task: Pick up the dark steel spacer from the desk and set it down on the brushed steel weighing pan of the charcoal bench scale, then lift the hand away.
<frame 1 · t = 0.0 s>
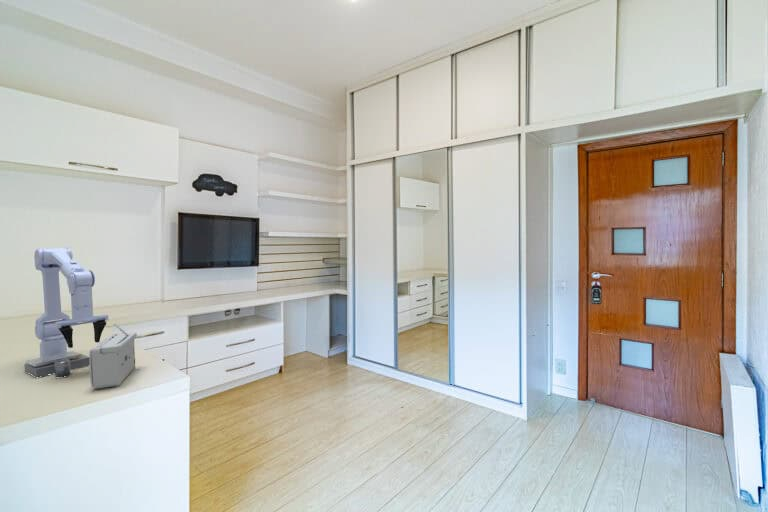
hand: (84, 344, 129), 10 cm above the table, tool pointing down, fingers open, 7 cm apart
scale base: (58, 368, 135), on the table
pipe clamp: (114, 366, 138), on the table
stereo radio cassette player: (116, 378, 125), on the table
weighing pan: (54, 358, 134), point 4 cm above the table, slide at 0.3 cm
steel spacer: (63, 375, 128), on the table
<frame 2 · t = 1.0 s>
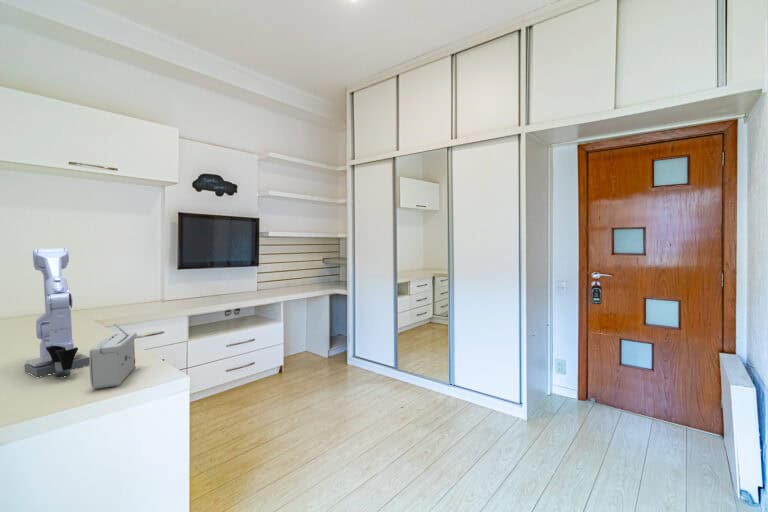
hand: (62, 367, 127), 3 cm above the table, tool pointing down, fingers open, 7 cm apart
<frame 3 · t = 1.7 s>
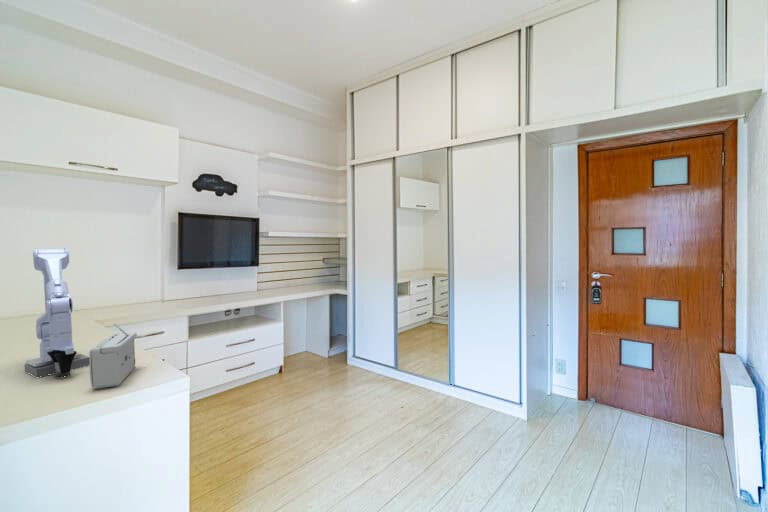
hand: (62, 371, 128), 1 cm above the table, tool pointing down, fingers closed on steel spacer, 4 cm apart
steel spacer: (63, 375, 128), on the table, touching gripper
everything else where it was.
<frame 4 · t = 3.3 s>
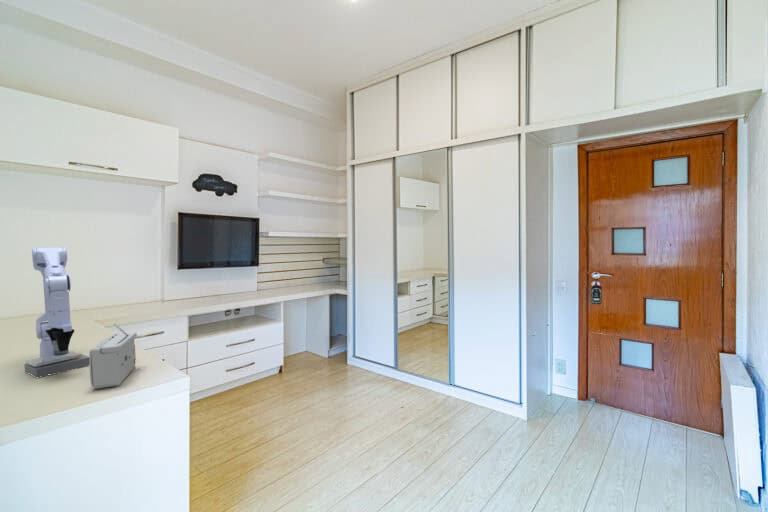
hand: (60, 349, 128), 9 cm above the table, tool pointing down, fingers closed on steel spacer, 4 cm apart
steel spacer: (61, 353, 128), point 7 cm above the table, touching gripper
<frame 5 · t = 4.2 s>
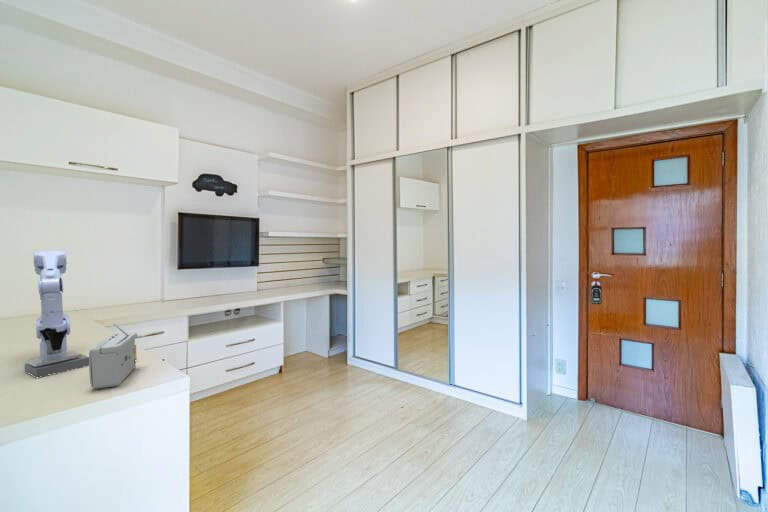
hand: (54, 349, 134), 7 cm above the table, tool pointing down, fingers closed on steel spacer, 4 cm apart
steel spacer: (54, 353, 134), point 6 cm above the table, touching gripper
when the fingers open (7 cm above the table, at t = 4.6 s): steel spacer drops 2 cm, resting on weighing pan.
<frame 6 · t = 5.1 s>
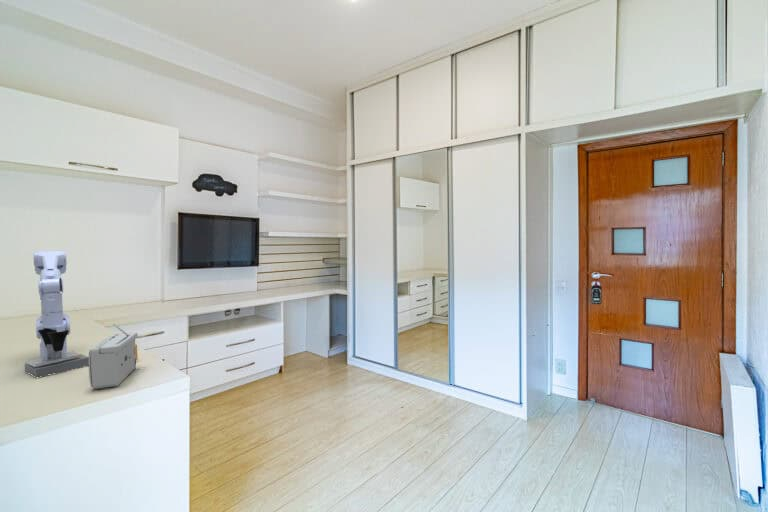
hand: (54, 349, 134), 7 cm above the table, tool pointing down, fingers open, 7 cm apart
weighing pan: (54, 358, 134), point 4 cm above the table, slide at 0.4 cm, touching steel spacer
steel spacer: (54, 357, 134), point 4 cm above the table, touching weighing pan
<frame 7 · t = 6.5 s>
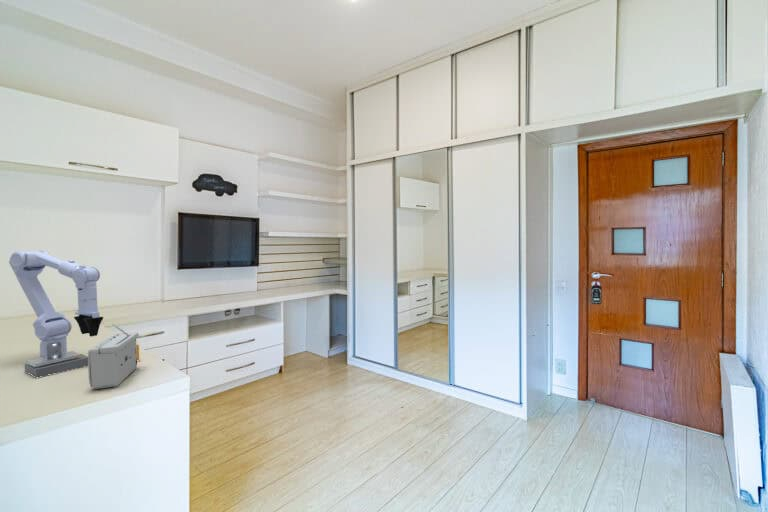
hand: (89, 334, 142), 10 cm above the table, tool pointing down, fingers open, 7 cm apart
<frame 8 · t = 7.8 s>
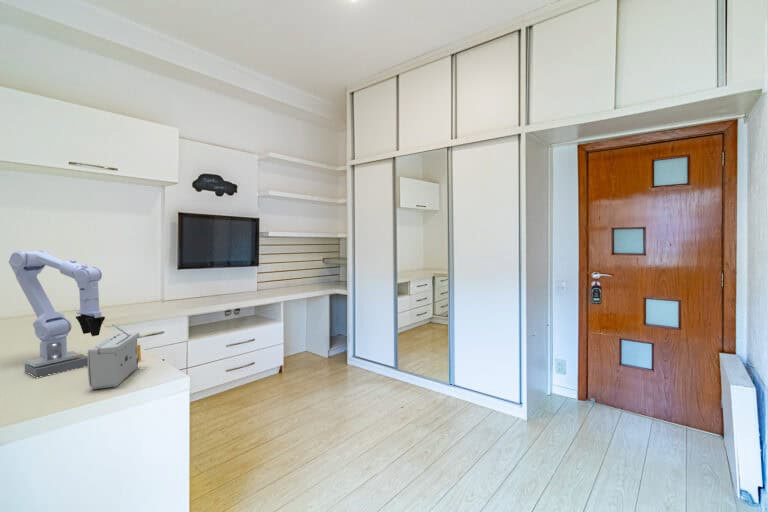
hand: (91, 334, 143), 10 cm above the table, tool pointing down, fingers open, 7 cm apart
at the end: steel spacer inside the target area on the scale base (0.0 cm from its centre), point 4.5 cm above the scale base's base; steel spacer tilted 1°; the gripper is holding nothing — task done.
